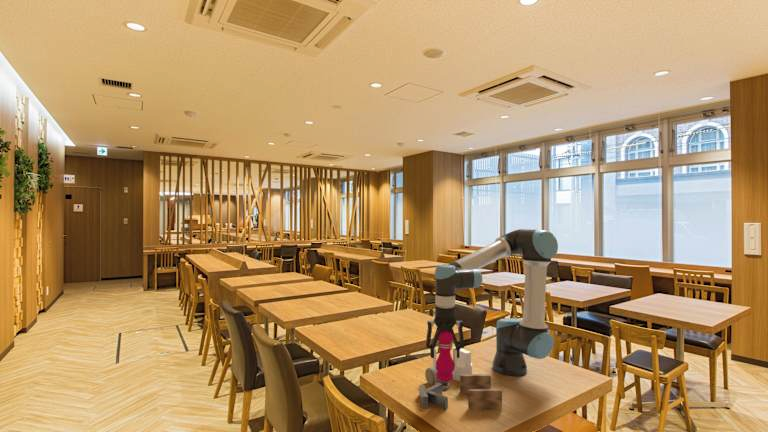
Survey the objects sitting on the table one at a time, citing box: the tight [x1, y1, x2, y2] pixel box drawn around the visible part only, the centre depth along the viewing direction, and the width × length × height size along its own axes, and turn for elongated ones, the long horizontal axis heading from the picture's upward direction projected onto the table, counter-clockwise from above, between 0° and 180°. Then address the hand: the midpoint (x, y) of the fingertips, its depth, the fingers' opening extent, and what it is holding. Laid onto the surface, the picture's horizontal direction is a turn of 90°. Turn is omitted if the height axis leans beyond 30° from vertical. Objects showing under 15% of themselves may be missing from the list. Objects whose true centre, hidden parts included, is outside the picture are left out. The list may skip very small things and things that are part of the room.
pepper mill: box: [436, 331, 454, 382], centre depth 151 cm, size 7×7×20 cm
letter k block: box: [418, 383, 449, 411], centre depth 151 cm, size 9×14×4 cm, turn 2°
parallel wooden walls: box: [459, 373, 503, 411], centre depth 151 cm, size 12×15×7 cm
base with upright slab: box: [452, 346, 473, 382], centre depth 173 cm, size 9×9×12 cm
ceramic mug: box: [424, 365, 450, 391], centre depth 165 cm, size 11×8×8 cm
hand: (444, 366), depth 151 cm, fingers closed on pepper mill, 7 cm apart
